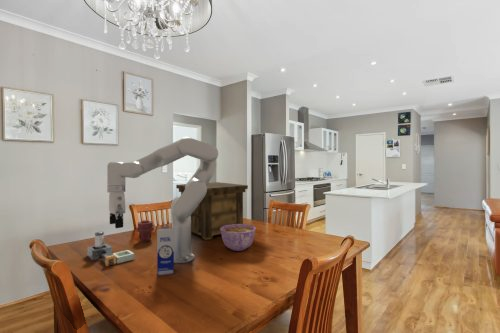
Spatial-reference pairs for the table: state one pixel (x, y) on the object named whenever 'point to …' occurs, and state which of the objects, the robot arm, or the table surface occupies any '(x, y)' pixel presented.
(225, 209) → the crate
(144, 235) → the dark red pot
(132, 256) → the pale green tray
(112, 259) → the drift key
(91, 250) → the socket block
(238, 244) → the bowl of food
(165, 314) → the table surface
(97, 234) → the grey peg
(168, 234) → the milk carton
